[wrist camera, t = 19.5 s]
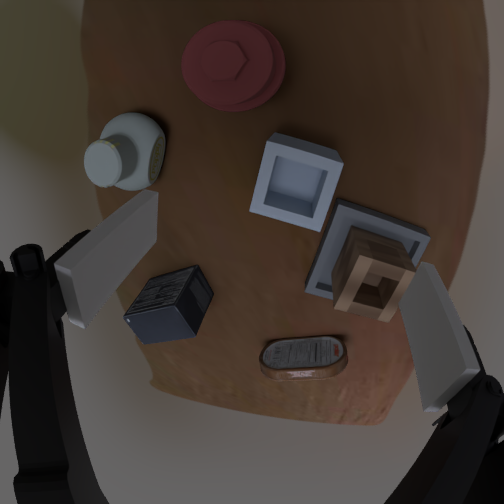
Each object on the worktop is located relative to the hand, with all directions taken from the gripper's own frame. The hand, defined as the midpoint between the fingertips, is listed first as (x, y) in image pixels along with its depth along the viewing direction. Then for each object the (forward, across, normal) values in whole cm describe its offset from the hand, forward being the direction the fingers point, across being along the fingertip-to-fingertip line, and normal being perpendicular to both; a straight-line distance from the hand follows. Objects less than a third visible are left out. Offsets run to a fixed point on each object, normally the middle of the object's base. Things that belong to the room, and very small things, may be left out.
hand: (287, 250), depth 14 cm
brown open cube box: (+25, +13, -12) cm, 30 cm away
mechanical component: (+26, -8, +8) cm, 29 cm away
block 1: (+26, 0, -3) cm, 26 cm away
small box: (+25, -14, -27) cm, 39 cm away
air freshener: (+26, -22, -5) cm, 34 cm away
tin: (+25, +9, -32) cm, 41 cm away
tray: (+25, +13, -13) cm, 31 cm away
